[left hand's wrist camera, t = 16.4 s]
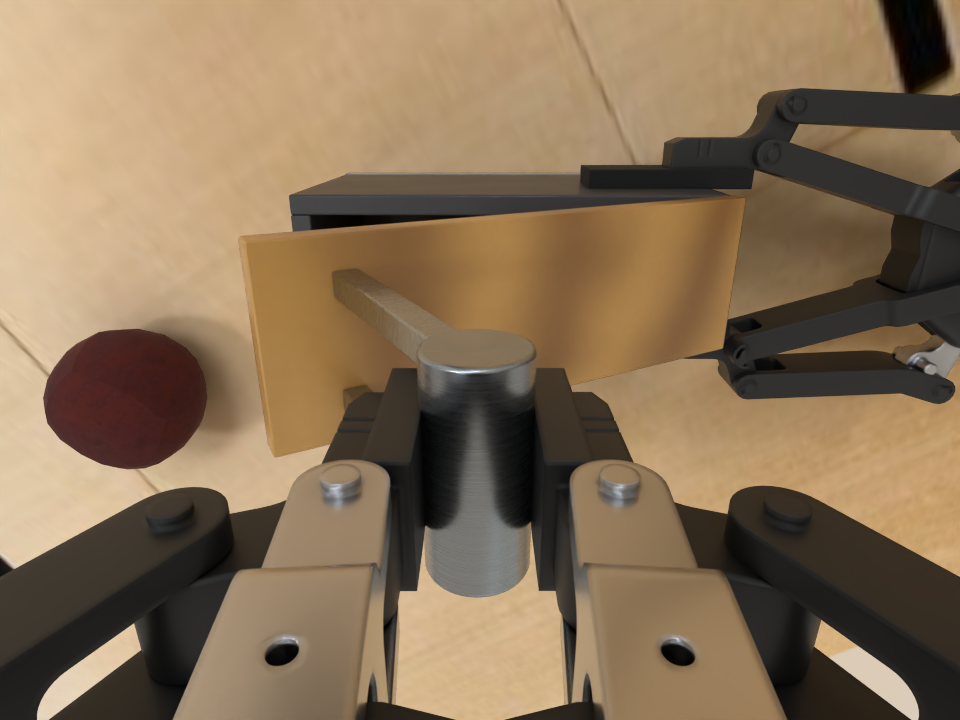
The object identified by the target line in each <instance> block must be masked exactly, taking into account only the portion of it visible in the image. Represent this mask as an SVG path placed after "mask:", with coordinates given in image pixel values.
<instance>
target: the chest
mask: <svg viewBox="0 0 960 720" xmlns="http://www.w3.org/2000/svg"><path fill="white" fill-rule="evenodd" d="M580 175H581V173H348V174H345V175H344V176H341V177H339V178H336V179H333V180H330V181H328V182H325V183H322V184H319V185H316V186H314V187H311V188H308V189H305V190H303V191H300V192H297V193H294V194H292V195H290V196H289V200H290V209H291V214H292V216H291V219H292V228H293V232H296V231H308V230H321V229H333V228H345V227H357V226H369V225H381V224H393V223H405V222H417V221H429V220H442V219H454V218H466V217H478V216H490V215H502V214H514V213H526V212H538V211H550V210H563V209H575V208H587V207H599V206H611V205H623V204H635V203H647V202H659V201H671V200H683V199H696V198H708V197H720V196H730V195H728V194H725V193H721V192H718V191H715V190H712V189H589V188H587V187H586V186H584V185H583V184H582V183H580Z"/></svg>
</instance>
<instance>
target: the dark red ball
mask: <svg viewBox="0 0 960 720" xmlns="http://www.w3.org/2000/svg"><path fill="white" fill-rule="evenodd" d="M43 399H44V407H45V414H46V418H47V423H48V425H49V426H50V427H51V428H52V430H53V431H54V432H55V433H56V435H57V436H58V437H59V438H60V440H62V441H63V442H65V443H66V444H67V445H69V446H70V447H72V448H73V449H74V450H76V451H77V452H79V453H80V454H82V455H84V456H86V457H88V458H90V459H92V460H94V461H96V462H98V463H100V464H103V465H108V466H112V467H117V468H123V469H140V468H147V467H150V466H153V465H156V464H159V463H160V462H162V461H163V460H165V459H167V458H168V457H170V456H171V455H173V454H174V453H175V452H177V451H178V450H180V449H181V448H182V447H184V445H185V444H186V443H187V442H188V440H189V439H190V438H191V436H192V435H193V434H194V432H195V431H196V429H197V428H198V427H199V425H200V423H201V421H202V419H203V416H204V411H205V407H206V400H207V393H206V383H205V379H204V376H203V372H202V370H201V368H200V366H199V364H198V362H197V360H196V359H195V357H194V356H193V355H192V354H191V353H190V352H189V351H188V350H187V348H185V347H183V346H182V345H180V344H178V343H177V342H175V341H174V340H172V339H170V338H169V337H167V336H165V335H162V334H158V333H153V332H149V331H145V330H140V329H127V330H111V331H104V332H98V333H97V334H95V335H93V336H91V337H89V338H87V339H85V340H83V341H81V342H79V343H77V344H76V345H75V346H73V347H72V348H71V349H70V350H68V351H67V352H66V353H65V355H64V356H63V357H62V359H61V360H60V361H59V362H58V364H57V365H56V366H55V367H54V369H53V371H52V373H51V374H50V376H49V378H48V380H47V384H46V388H45V393H44V397H43Z"/></svg>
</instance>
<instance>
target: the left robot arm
mask: <svg viewBox="0 0 960 720" xmlns="http://www.w3.org/2000/svg"><path fill="white" fill-rule="evenodd" d="M530 522H531V530H532V538H533V546H534V554H535V563H536V571H537V579H538V587H539V591H556V596H557V602H558V607H559V610H560V612H561V628H560V634H561V651H562V669H563V686H564V704H565V705H562V706H558V707H554V708H550V709H546V710H542V711H538V712H534V713H530V714H526V715H522V716H518V717H514V718H510V719H506V720H911V719H909V718H908V717H907V716H905V715H904V714H903V713H901V712H900V711H899V710H897V709H896V708H895V707H893V706H892V705H891V704H889V703H888V702H887V701H885V700H884V699H883V698H881V697H880V696H879V695H878V694H876V693H875V692H874V691H872V690H871V689H869V688H868V687H867V686H866V685H864V684H863V683H862V682H860V681H859V680H858V679H856V678H855V677H854V676H852V675H851V674H850V673H848V672H847V671H846V670H844V669H843V668H842V667H840V666H839V665H838V664H836V663H835V662H834V661H832V660H831V659H830V658H828V657H827V656H826V655H824V654H823V653H822V652H820V651H819V650H818V649H816V648H815V647H814V644H815V641H816V637H817V633H818V630H819V626H820V622H821V620H822V621H824V622H825V623H827V624H828V625H829V626H831V627H832V628H834V629H835V630H836V631H838V632H839V633H841V634H842V635H844V636H845V637H846V638H848V639H849V640H851V641H852V642H853V643H855V644H856V645H858V646H859V647H861V648H862V649H863V650H865V651H866V652H868V653H869V654H870V655H872V656H873V657H875V658H876V659H878V660H879V661H880V662H882V663H883V664H885V665H886V666H887V667H889V668H890V669H891V670H893V671H894V672H895V673H896V674H898V675H899V676H900V677H901V678H902V679H903V681H904V682H905V683H906V684H907V685H908V687H909V688H910V690H911V691H912V693H913V695H914V697H915V699H916V701H917V704H918V708H919V719H918V720H960V577H959V576H957V575H955V574H953V573H951V572H950V571H948V570H946V569H944V568H942V567H940V566H939V565H937V564H935V563H933V562H931V561H929V560H928V559H926V558H924V557H922V556H920V555H918V554H916V553H915V552H913V551H911V550H909V549H907V548H905V547H904V546H902V545H900V544H898V543H896V542H894V541H892V540H891V539H889V538H887V537H885V536H883V535H881V534H880V533H878V532H876V531H874V530H872V529H870V528H869V527H867V526H865V525H863V524H861V523H859V522H857V521H856V520H854V519H852V518H850V517H848V516H846V515H845V514H843V513H841V512H839V511H837V510H835V509H833V508H832V507H830V506H828V505H826V504H824V503H822V502H821V501H819V500H817V499H815V498H813V497H811V496H808V495H806V494H803V493H800V492H797V491H794V490H790V489H786V488H781V487H774V486H754V487H748V488H745V489H742V490H740V491H738V492H736V493H735V494H734V495H733V496H732V498H731V499H730V504H729V510H728V514H724V513H719V512H714V511H708V510H703V509H698V508H693V507H689V506H685V505H681V504H678V503H675V502H674V501H673V498H672V495H671V492H670V490H669V487H668V485H667V483H666V482H665V480H664V479H663V478H662V477H661V476H660V475H658V474H657V473H656V472H654V471H652V470H651V469H649V468H647V467H645V466H642V465H639V464H636V463H634V462H633V460H632V458H631V456H630V453H629V451H628V449H627V446H626V444H625V442H624V440H623V437H622V435H621V433H620V432H619V428H618V426H617V424H616V422H615V421H614V417H613V415H612V412H611V410H610V408H609V406H608V404H607V403H606V402H604V401H603V400H602V399H600V398H599V397H598V396H596V395H595V394H594V393H592V392H572V390H571V387H570V384H569V381H568V378H567V375H566V372H565V369H564V368H536V392H535V407H534V436H533V464H532V493H531V521H530ZM424 533H425V501H424V476H423V451H422V426H421V410H420V408H419V404H418V381H417V368H392V371H391V374H390V376H389V379H388V382H387V385H386V388H385V391H384V392H365V393H363V394H362V395H361V396H359V397H358V398H356V399H355V400H354V401H352V402H351V403H350V404H349V405H348V407H347V409H346V411H345V413H344V416H343V418H342V421H341V422H340V425H339V427H338V429H337V432H336V433H335V436H334V438H333V440H332V442H331V444H330V447H329V449H328V451H327V453H326V455H325V458H324V460H323V462H322V464H321V465H318V466H315V467H313V468H311V469H309V470H307V471H306V472H304V473H303V474H302V475H300V476H299V477H298V478H297V479H296V480H295V482H294V483H293V485H292V487H291V490H290V492H289V495H288V498H287V500H285V501H283V502H281V503H278V504H274V505H271V506H267V507H263V508H258V509H253V510H248V511H243V512H238V513H232V514H230V513H229V507H228V502H227V500H226V498H225V497H224V496H223V495H222V494H221V493H219V492H217V491H215V490H212V489H208V488H201V487H188V488H179V489H173V490H169V491H165V492H162V493H158V494H155V495H153V496H150V497H148V498H146V499H144V500H142V501H139V502H138V503H136V504H134V505H132V506H130V507H128V508H127V509H125V510H123V511H121V512H119V513H117V514H115V515H114V516H112V517H110V518H108V519H106V520H104V521H103V522H101V523H99V524H97V525H95V526H93V527H91V528H90V529H88V530H86V531H84V532H82V533H80V534H79V535H77V536H75V537H73V538H71V539H69V540H67V541H66V542H64V543H62V544H60V545H58V546H56V547H55V548H53V549H51V550H49V551H47V552H45V553H44V554H42V555H40V556H38V557H36V558H34V559H32V560H31V561H29V562H27V563H25V564H23V565H21V566H20V567H18V568H16V569H14V570H12V571H10V572H8V573H7V574H5V575H3V576H1V577H0V720H37V711H38V707H39V704H40V702H41V699H42V698H43V696H44V694H45V693H46V691H47V690H48V688H49V687H50V686H51V685H52V683H53V682H54V681H55V680H56V679H57V678H58V677H59V676H61V675H62V674H63V673H64V672H66V671H67V670H68V669H70V668H71V667H73V666H74V665H75V664H77V663H78V662H80V661H81V660H83V659H84V658H85V657H87V656H88V655H90V654H91V653H92V652H94V651H95V650H97V649H98V648H99V647H101V646H102V645H104V644H105V643H107V642H108V641H109V640H111V639H112V638H114V637H115V636H116V635H118V634H119V633H121V632H122V631H123V630H125V629H126V628H128V627H129V626H131V625H132V624H133V623H134V624H135V628H136V631H137V635H138V639H139V642H140V646H141V651H140V652H138V653H137V654H136V655H134V656H133V657H132V658H130V659H129V660H128V661H126V662H125V663H124V664H122V665H121V666H120V667H118V668H117V669H116V670H114V671H113V672H112V673H110V674H109V675H108V676H106V677H105V678H104V679H102V680H101V681H100V682H98V683H97V684H96V685H94V686H93V687H92V688H90V689H89V690H88V691H86V692H85V693H84V694H82V695H81V696H80V697H78V698H77V699H76V700H75V701H73V702H72V703H71V704H69V705H68V706H67V707H65V708H64V709H63V710H61V711H60V712H59V713H57V714H56V715H55V716H53V717H52V718H51V719H49V720H454V719H450V718H446V717H442V716H438V715H434V714H430V713H426V712H422V711H418V710H414V709H410V708H406V707H402V706H398V705H395V703H396V685H397V668H398V650H399V633H400V629H399V612H398V599H399V593H400V591H417V587H418V579H419V571H420V564H421V556H422V548H423V541H424Z"/></svg>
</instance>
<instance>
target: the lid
mask: <svg viewBox="0 0 960 720" xmlns="http://www.w3.org/2000/svg"><path fill="white" fill-rule="evenodd" d="M745 201H746V199H745V198H741V197H733V196H720V197H708V198H696V199H683V200H671V201H659V202H647V203H635V204H623V205H611V206H599V207H587V208H575V209H563V210H550V211H538V212H526V213H514V214H502V215H490V216H478V217H466V218H454V219H442V220H429V221H417V222H405V223H393V224H381V225H369V226H357V227H345V228H333V229H321V230H308V231H296V232H284V233H272V234H260V235H248V236H240V237H239V238H238V242H239V248H240V255H241V262H242V269H243V276H244V283H245V290H246V296H247V303H248V310H249V317H250V324H251V331H252V337H253V344H254V351H255V358H256V365H257V372H258V379H259V385H260V392H261V399H262V406H263V413H264V420H265V427H266V433H267V440H268V445H269V447H270V449H271V451H272V454H273V456H274V457H280V456H284V455H288V454H292V453H296V452H300V451H304V450H309V449H313V448H317V447H321V446H325V445H329V444H331V442H332V440H333V438H334V436H335V433H336V432H337V429H338V427H339V425H340V422H341V421H342V418H343V416H344V413H345V411H346V409H347V407H348V405H349V404H350V403H351V402H352V401H354V400H355V399H356V398H358V397H359V396H361V395H362V394H363V393H365V392H384V391H385V388H386V385H387V382H388V379H389V376H390V374H391V371H392V368H417V381H418V404H419V408H420V410H421V426H422V451H423V476H424V501H425V533H424V544H425V564H426V568H427V571H428V573H429V574H430V576H431V578H432V579H433V580H434V581H435V582H436V583H437V584H438V585H439V586H440V587H442V588H443V589H445V590H447V591H449V592H451V593H454V594H457V595H461V596H467V597H488V596H493V595H497V594H500V593H503V592H505V591H507V590H510V589H511V588H513V587H514V586H516V585H517V584H518V583H519V582H520V581H521V580H522V579H523V577H524V576H525V574H526V572H527V570H528V568H529V564H530V538H531V522H530V521H531V493H532V464H533V436H534V407H535V392H536V368H564V369H565V372H566V375H567V378H568V381H569V384H570V386H571V385H575V384H579V383H583V382H587V381H592V380H596V379H600V378H604V377H608V376H612V375H616V374H620V373H624V372H628V371H633V370H637V369H641V368H645V367H649V366H653V365H657V364H661V363H665V362H669V361H674V360H678V359H682V358H686V357H690V356H694V355H698V354H702V353H706V352H710V351H715V350H719V349H722V348H723V345H724V339H725V332H726V326H727V319H728V312H729V306H730V299H731V293H732V286H733V280H734V273H735V267H736V260H737V253H738V247H739V240H740V234H741V227H742V221H743V214H744V208H745Z"/></svg>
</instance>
